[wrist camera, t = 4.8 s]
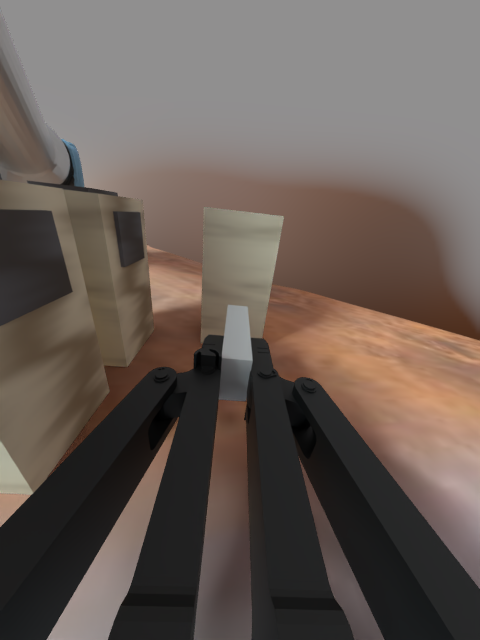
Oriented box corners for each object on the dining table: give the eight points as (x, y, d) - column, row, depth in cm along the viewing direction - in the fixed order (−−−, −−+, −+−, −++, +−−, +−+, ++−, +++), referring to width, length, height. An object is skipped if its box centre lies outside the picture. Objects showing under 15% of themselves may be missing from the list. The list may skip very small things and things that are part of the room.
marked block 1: (96, 323, 26) (66, 187, 19) (157, 329, 26) (146, 196, 20) (49, 361, 19) (-21, 173, 13) (130, 367, 20) (101, 188, 13)
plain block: (208, 316, 31) (212, 208, 24) (255, 321, 31) (272, 215, 25) (200, 343, 24) (204, 207, 18) (260, 348, 25) (283, 216, 19)
